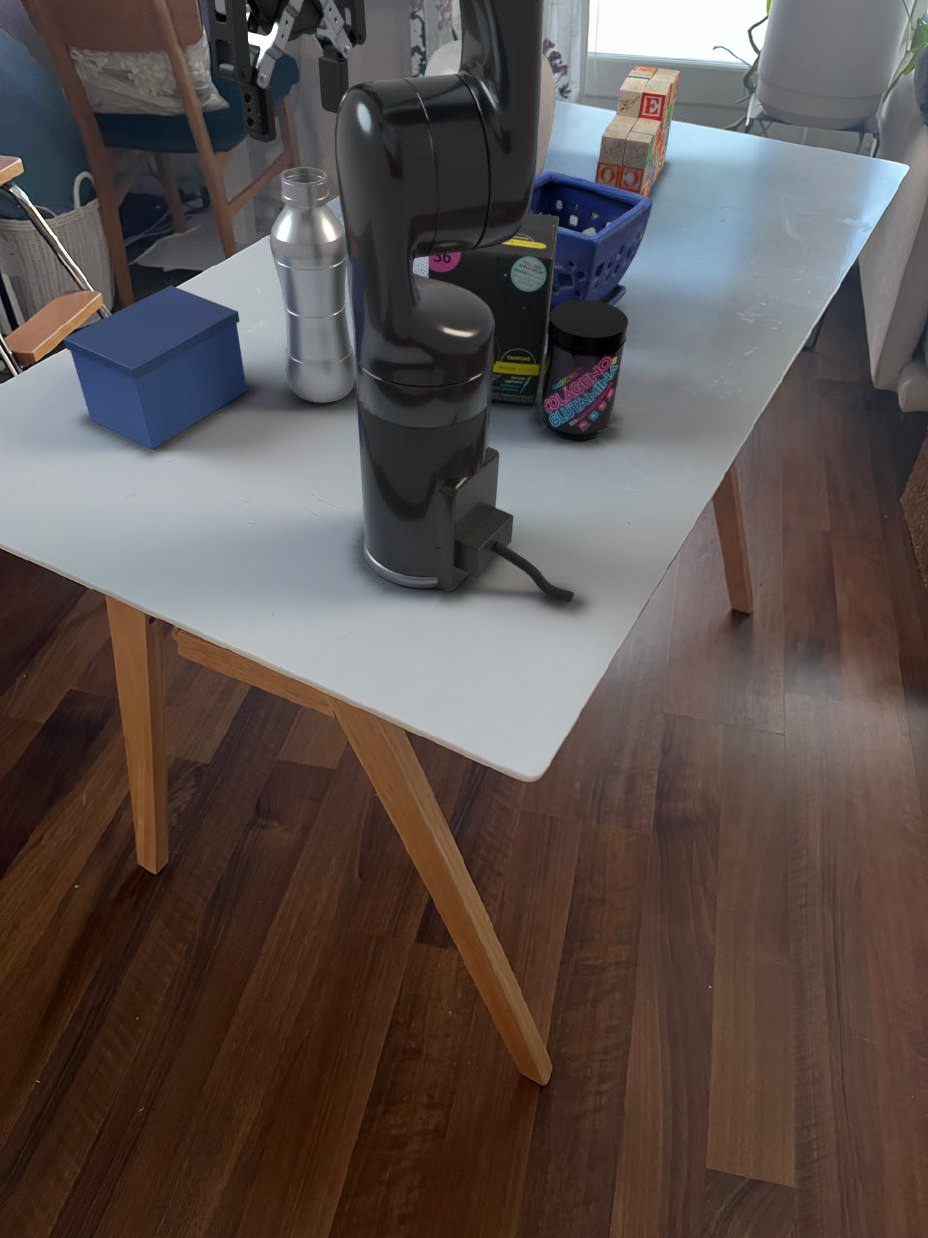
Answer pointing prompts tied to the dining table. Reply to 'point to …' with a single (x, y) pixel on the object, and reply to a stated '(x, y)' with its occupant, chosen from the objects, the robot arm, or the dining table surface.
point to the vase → (449, 63)
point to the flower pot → (587, 259)
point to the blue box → (159, 365)
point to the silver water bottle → (313, 288)
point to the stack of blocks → (638, 131)
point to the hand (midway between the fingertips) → (300, 124)
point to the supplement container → (582, 368)
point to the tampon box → (511, 300)
